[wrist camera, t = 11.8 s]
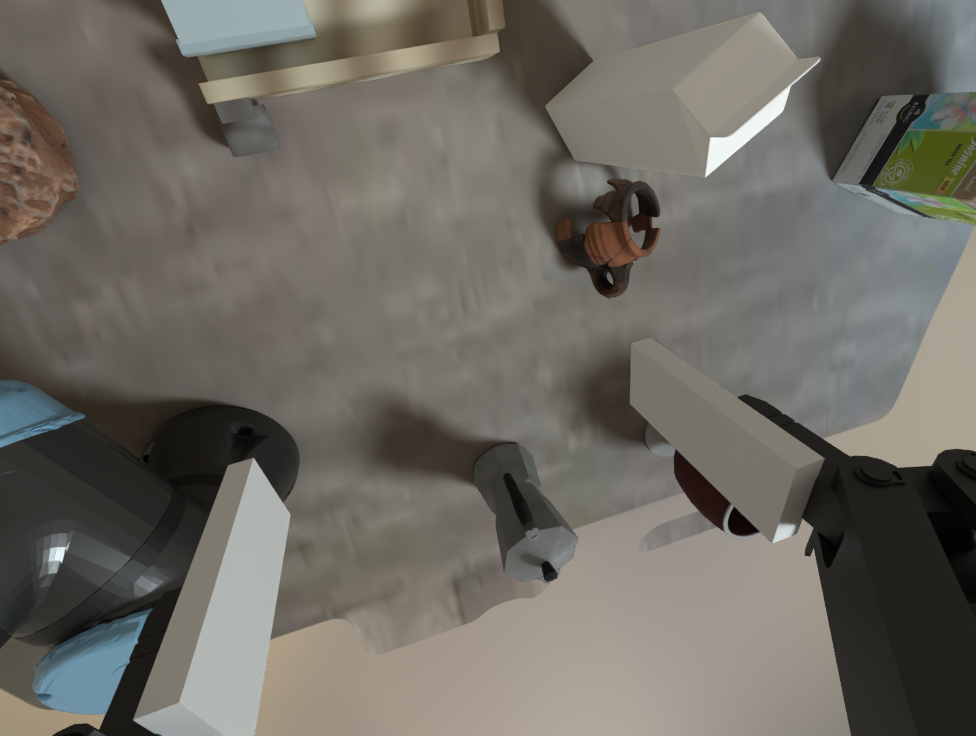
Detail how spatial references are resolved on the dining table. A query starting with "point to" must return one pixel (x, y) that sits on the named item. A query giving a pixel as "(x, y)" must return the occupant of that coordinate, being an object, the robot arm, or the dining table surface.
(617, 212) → the pottery mug
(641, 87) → the milk
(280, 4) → the cylinder on square plate
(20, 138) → the decorative rock
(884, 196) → the tea box
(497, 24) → the tray
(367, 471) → the dining table surface
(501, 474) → the coffeepot
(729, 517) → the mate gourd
